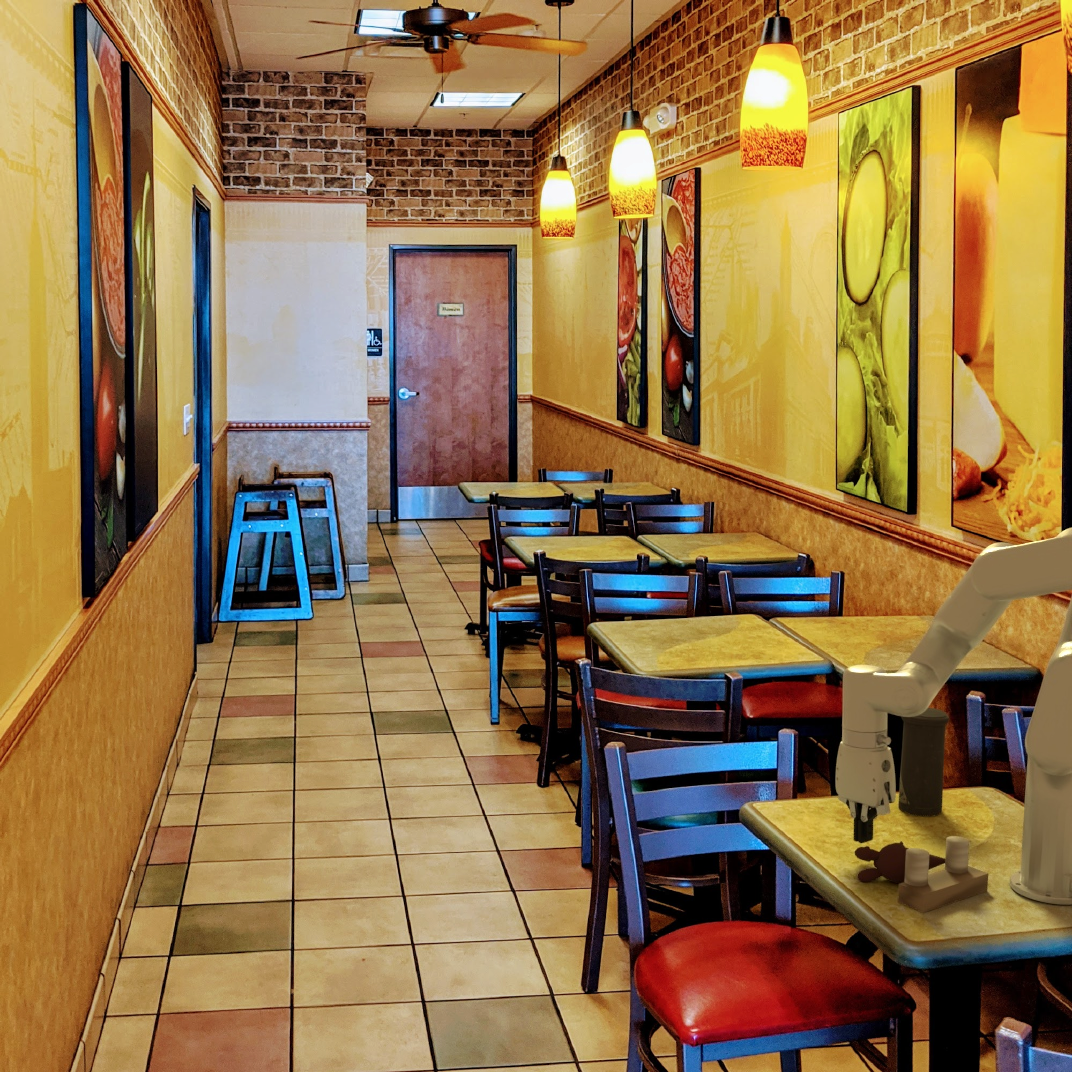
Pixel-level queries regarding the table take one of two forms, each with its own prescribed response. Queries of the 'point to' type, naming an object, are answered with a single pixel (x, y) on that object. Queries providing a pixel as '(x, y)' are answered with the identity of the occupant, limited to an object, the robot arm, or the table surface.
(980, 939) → the table surface
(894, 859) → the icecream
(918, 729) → the container
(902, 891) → the rail
